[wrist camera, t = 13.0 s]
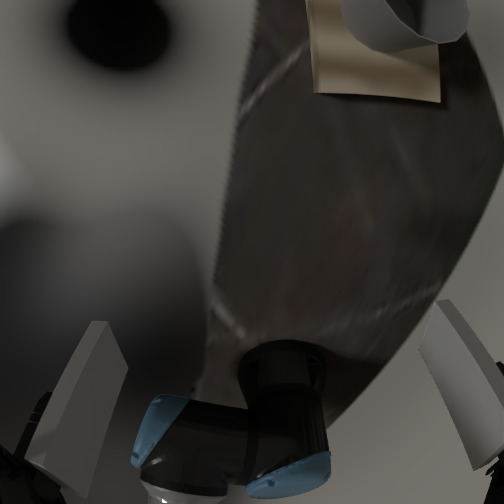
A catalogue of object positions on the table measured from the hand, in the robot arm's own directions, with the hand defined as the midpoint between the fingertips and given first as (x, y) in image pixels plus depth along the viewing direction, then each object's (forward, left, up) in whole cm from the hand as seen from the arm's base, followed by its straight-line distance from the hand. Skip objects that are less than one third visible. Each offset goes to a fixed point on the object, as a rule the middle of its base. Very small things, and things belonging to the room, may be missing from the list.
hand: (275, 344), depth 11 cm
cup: (+18, -13, -23) cm, 32 cm away
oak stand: (+18, -13, -26) cm, 35 cm away
